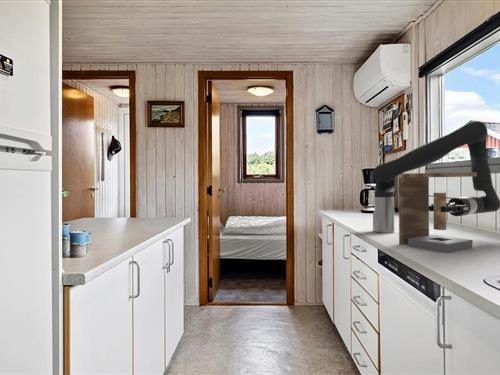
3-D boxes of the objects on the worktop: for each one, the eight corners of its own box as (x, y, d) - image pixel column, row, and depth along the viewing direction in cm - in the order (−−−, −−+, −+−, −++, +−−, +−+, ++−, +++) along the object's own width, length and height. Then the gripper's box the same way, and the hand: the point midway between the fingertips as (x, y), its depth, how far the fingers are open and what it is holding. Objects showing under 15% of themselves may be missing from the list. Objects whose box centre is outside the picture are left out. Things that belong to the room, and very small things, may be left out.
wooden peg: (431, 229, 147) (430, 192, 146) (438, 228, 149) (438, 192, 148) (441, 230, 143) (441, 193, 142) (448, 229, 145) (448, 192, 144)
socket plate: (408, 245, 149) (408, 238, 149) (433, 241, 157) (433, 234, 157) (446, 252, 135) (446, 244, 135) (472, 247, 143) (472, 240, 143)
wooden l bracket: (399, 243, 154) (398, 173, 153) (424, 240, 162) (424, 173, 161) (450, 252, 135) (450, 172, 134) (476, 248, 142) (476, 172, 142)
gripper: (445, 196, 159) (418, 198, 150) (480, 197, 146) (453, 199, 138) (445, 214, 159) (419, 217, 150) (480, 217, 146) (453, 220, 138)
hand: (435, 208), depth 144 cm, fingers closed on wooden peg, 4 cm apart
